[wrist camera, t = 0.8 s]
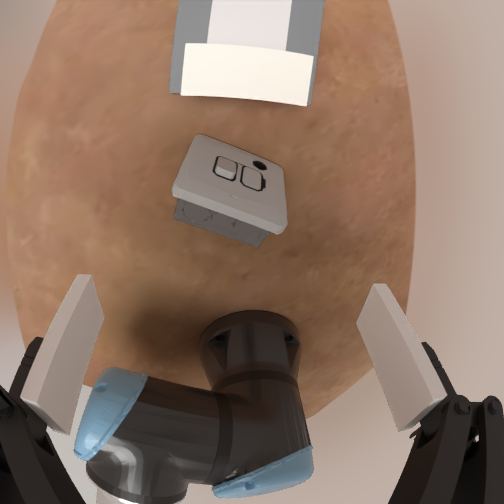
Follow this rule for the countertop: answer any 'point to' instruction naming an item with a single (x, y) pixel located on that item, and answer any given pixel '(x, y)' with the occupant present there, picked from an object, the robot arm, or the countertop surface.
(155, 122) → the countertop surface
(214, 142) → the electrical switch
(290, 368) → the robot arm
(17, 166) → the countertop surface
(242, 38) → the rail plate
